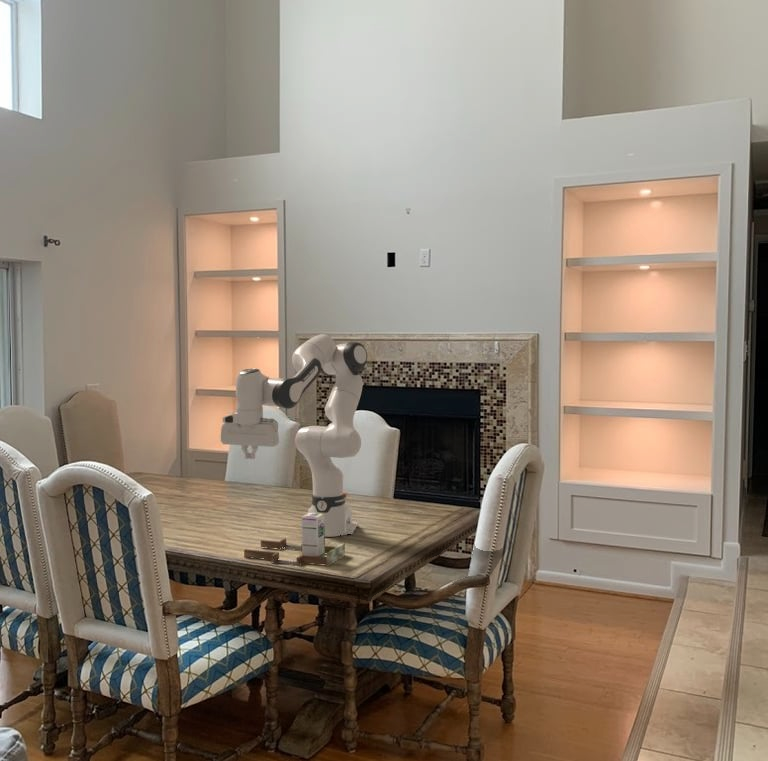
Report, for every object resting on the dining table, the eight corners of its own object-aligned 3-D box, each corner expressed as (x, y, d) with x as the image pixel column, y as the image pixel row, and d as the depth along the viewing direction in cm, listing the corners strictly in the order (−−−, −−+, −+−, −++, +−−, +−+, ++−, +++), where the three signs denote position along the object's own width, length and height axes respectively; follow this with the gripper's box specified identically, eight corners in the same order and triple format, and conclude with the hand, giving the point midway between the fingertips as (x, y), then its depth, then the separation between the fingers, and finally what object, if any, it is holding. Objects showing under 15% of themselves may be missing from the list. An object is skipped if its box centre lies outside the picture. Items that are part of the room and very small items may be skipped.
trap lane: (268, 543, 281) (267, 532, 280) (349, 551, 271) (349, 539, 271) (239, 559, 261) (239, 547, 261) (326, 568, 252) (326, 556, 252)
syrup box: (318, 561, 259) (318, 517, 258) (301, 560, 261) (301, 515, 260) (325, 556, 265) (325, 513, 264) (308, 555, 267) (308, 511, 266)
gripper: (282, 417, 270) (282, 458, 270) (227, 415, 276) (227, 455, 277) (273, 419, 264) (274, 461, 264) (218, 417, 270) (218, 458, 271)
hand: (250, 458), depth 271 cm, fingers closed
